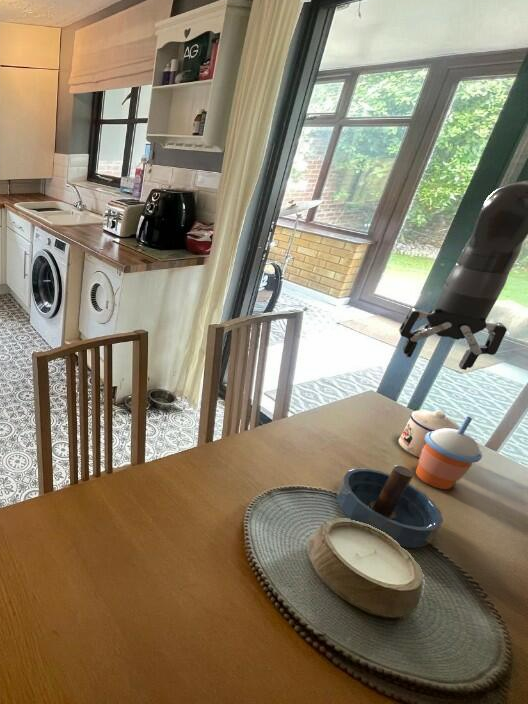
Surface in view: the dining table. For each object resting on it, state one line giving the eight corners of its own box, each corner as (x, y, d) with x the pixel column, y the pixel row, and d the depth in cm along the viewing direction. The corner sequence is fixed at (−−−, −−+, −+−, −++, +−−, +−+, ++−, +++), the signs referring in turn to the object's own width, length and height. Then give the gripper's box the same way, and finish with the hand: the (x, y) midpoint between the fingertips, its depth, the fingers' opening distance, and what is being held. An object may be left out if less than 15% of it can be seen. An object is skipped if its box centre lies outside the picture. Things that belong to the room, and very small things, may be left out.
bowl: (423, 508, 89) (434, 489, 86) (437, 564, 77) (450, 545, 75) (335, 476, 97) (343, 458, 94) (335, 523, 85) (345, 504, 83)
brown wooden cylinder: (393, 511, 87) (416, 468, 82) (395, 525, 84) (420, 482, 79) (367, 501, 89) (388, 459, 84) (368, 515, 86) (390, 472, 81)
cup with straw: (409, 459, 102) (441, 399, 94) (460, 479, 96) (499, 418, 88) (405, 478, 96) (439, 417, 88) (459, 501, 90) (501, 438, 82)
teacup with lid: (397, 432, 111) (415, 397, 106) (443, 448, 105) (464, 411, 100) (396, 456, 102) (416, 419, 97) (446, 475, 97) (470, 437, 92)
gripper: (425, 287, 80) (392, 359, 87) (532, 304, 73) (486, 380, 80) (419, 277, 86) (388, 345, 93) (517, 291, 78) (476, 364, 85)
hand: (434, 361), depth 86 cm, fingers open, 8 cm apart
